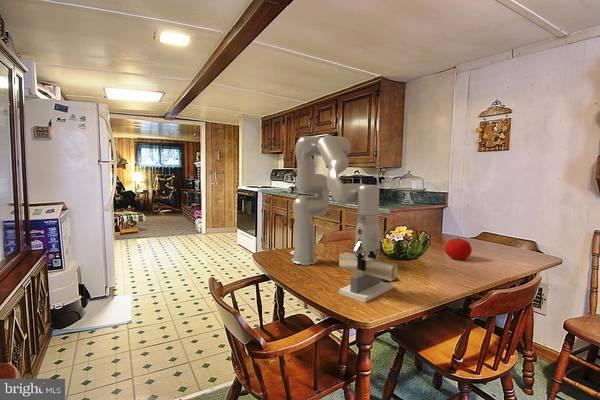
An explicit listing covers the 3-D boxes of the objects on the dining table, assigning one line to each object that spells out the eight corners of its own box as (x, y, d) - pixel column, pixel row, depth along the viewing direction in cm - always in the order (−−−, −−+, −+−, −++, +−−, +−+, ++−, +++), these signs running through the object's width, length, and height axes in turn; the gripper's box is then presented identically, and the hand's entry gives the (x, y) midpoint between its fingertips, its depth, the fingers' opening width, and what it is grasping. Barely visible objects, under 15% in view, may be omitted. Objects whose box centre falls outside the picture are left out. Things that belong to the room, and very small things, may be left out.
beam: (391, 281, 107) (391, 266, 107) (339, 266, 122) (339, 254, 122) (396, 278, 110) (397, 264, 109) (345, 264, 125) (345, 252, 125)
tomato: (475, 260, 158) (477, 239, 158) (457, 262, 154) (458, 241, 153) (457, 255, 169) (458, 235, 168) (439, 257, 164) (440, 237, 163)
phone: (379, 268, 142) (399, 279, 128) (379, 270, 142) (399, 281, 128) (363, 269, 140) (382, 281, 125) (363, 272, 140) (382, 283, 125)
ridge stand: (339, 293, 114) (339, 274, 114) (366, 281, 127) (367, 264, 126) (365, 302, 107) (365, 282, 106) (391, 288, 119) (392, 270, 119)
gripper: (363, 223, 106) (361, 275, 107) (389, 217, 118) (387, 265, 119) (344, 220, 111) (344, 270, 113) (371, 215, 123) (370, 261, 125)
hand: (366, 267), depth 116 cm, fingers open, 6 cm apart
